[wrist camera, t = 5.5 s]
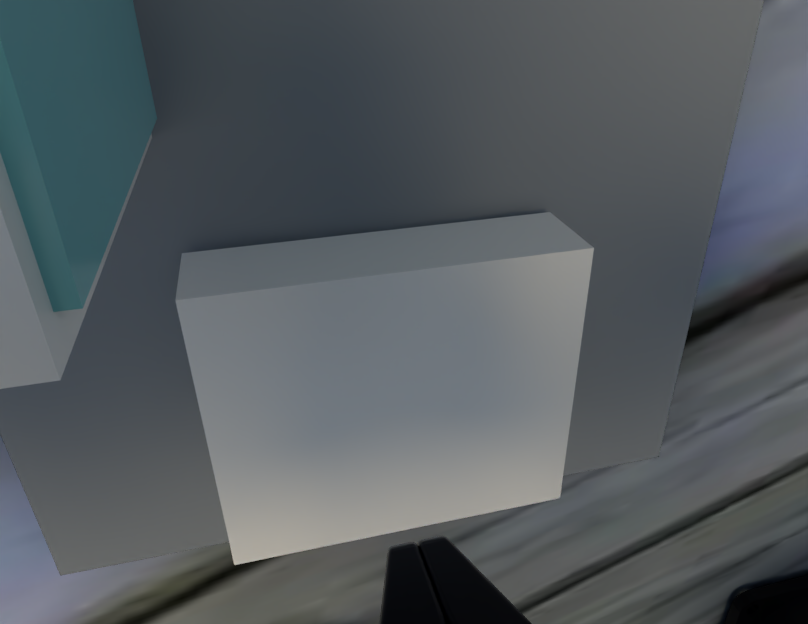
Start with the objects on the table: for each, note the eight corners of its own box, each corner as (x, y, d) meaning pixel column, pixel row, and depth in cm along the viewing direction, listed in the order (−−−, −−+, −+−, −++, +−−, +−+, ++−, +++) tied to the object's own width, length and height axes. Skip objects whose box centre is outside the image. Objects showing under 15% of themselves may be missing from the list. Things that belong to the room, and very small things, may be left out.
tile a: (182, 248, 12) (545, 208, 13) (233, 493, 15) (524, 439, 16) (175, 300, 10) (593, 248, 11) (234, 564, 13) (559, 498, 14)
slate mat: (837, -446, 10) (872, -468, 9) (646, 442, 18) (658, 456, 17) (-399, -582, 7) (-452, -626, 6) (65, 554, 15) (60, 575, 15)
